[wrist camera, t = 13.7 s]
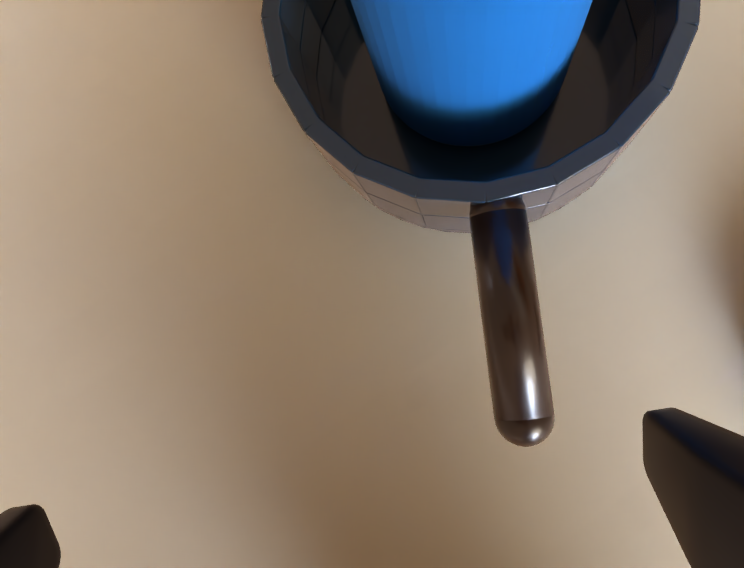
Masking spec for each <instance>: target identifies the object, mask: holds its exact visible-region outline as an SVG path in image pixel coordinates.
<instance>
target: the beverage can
mask: <svg viewBox="0 0 744 568" xmlns="http://www.w3.org/2000/svg"><path fill="white" fill-rule="evenodd" d="M351 3H352V6H353V9H354V12H355V15H356V18H357V21H358V23H359V26H360V29H361V32H362V35H363V38H364V41H365V43H366V46H367V49H368V52H369V55H370V58H371V61H372V64H373V66H374V69H375V72H376V75H377V78H378V81H379V84H380V87H381V89H382V92H383V94H384V96H385V98H386V100H387V102H388V104H389V105H390V107H391V108H392V110H393V111H394V112H395V113H396V115H397V116H398V117H399V118H400V119H401V120H402V121H403V122H404V123H405V124H406V125H408V126H409V127H410V128H412V129H413V130H415V131H416V132H418V133H419V134H421V135H423V136H425V137H427V138H429V139H431V140H434V141H437V142H440V143H444V144H449V145H455V146H480V145H485V144H491V143H495V142H498V141H501V140H504V139H506V138H509V137H511V136H513V135H515V134H517V133H519V132H520V131H522V130H523V129H525V128H527V127H528V126H530V125H531V124H532V123H533V122H534V121H536V120H537V119H538V118H539V117H540V116H541V115H542V114H543V113H544V112H545V111H546V110H547V109H548V107H549V106H550V105H551V103H552V102H553V101H554V99H555V98H556V96H557V94H558V92H559V90H560V89H561V87H562V84H563V82H564V79H565V76H566V74H567V71H568V68H569V65H570V62H571V60H572V57H573V54H574V51H575V48H576V45H577V43H578V40H579V37H580V34H581V31H582V29H583V26H584V23H585V20H586V17H587V14H588V12H589V9H590V6H591V3H592V0H351Z"/></svg>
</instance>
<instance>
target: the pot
mask: <svg viewBox="0 0 744 568" xmlns="http://www.w3.org/2000/svg"><path fill="white" fill-rule="evenodd" d="M700 2H701V0H592V3H591V6H590V9H589V12H588V14H587V17H586V20H585V23H584V26H583V29H582V31H581V34H580V37H579V40H578V43H577V45H576V48H575V51H574V54H573V57H572V60H571V62H570V65H569V68H568V71H567V74H566V76H565V79H564V82H563V84H562V87H561V89H560V90H559V92H558V94H557V96H556V98H555V99H554V101H553V102H552V103H551V105H550V106H549V107H548V109H547V110H546V111H545V112H544V113H543V114H542V115H541V116H540V117H539V118H538V119H537V120H536V121H534V122H533V123H532V124H531V125H530V126H528V127H527V128H525V129H523V130H522V131H520V132H519V133H517V134H515V135H513V136H511V137H509V138H506V139H504V140H501V141H498V142H495V143H491V144H485V145H480V146H455V145H449V144H444V143H440V142H437V141H434V140H431V139H429V138H427V137H425V136H423V135H421V134H419V133H418V132H416V131H415V130H413V129H412V128H410V127H409V126H408V125H406V124H405V123H404V122H403V121H402V120H401V119H400V118H399V117H398V116H397V115H396V113H395V112H394V111H393V110H392V108H391V107H390V105H389V104H388V102H387V100H386V98H385V96H384V94H383V92H382V89H381V87H380V84H379V81H378V78H377V75H376V72H375V69H374V66H373V64H372V61H371V58H370V55H369V52H368V49H367V46H366V43H365V41H364V38H363V35H362V32H361V29H360V26H359V23H358V21H357V18H356V15H355V12H354V9H353V6H352V3H351V0H263V5H262V13H261V18H262V19H261V22H262V27H263V32H264V37H265V42H266V47H267V52H268V57H269V62H270V67H271V72H272V77H273V78H274V82H275V83H276V85H277V87H278V89H279V90H280V92H281V94H282V95H283V97H284V99H285V101H286V102H287V104H288V106H289V107H290V109H291V111H292V113H293V114H294V116H295V118H296V119H297V121H298V123H299V124H300V126H301V128H302V130H303V131H304V132H305V134H306V135H307V136H308V137H309V139H310V140H311V141H312V143H313V144H314V145H315V146H316V148H317V149H318V150H319V152H320V153H321V154H322V155H323V157H324V158H325V159H326V160H327V162H328V163H329V164H330V166H331V167H332V168H333V169H334V171H335V172H336V173H337V174H338V175H339V176H340V177H341V178H342V179H344V180H345V181H346V182H347V183H348V184H349V185H350V186H351V187H352V188H353V189H354V190H355V191H356V192H358V193H359V194H360V195H361V196H362V197H363V198H364V199H366V200H367V201H369V202H370V203H372V204H373V205H374V206H376V207H377V208H379V209H381V210H382V211H384V212H386V213H388V214H390V215H392V216H394V217H396V218H398V219H400V220H402V221H405V222H408V223H411V224H414V225H417V226H420V227H423V228H428V229H434V230H439V231H444V232H457V233H471V229H470V221H469V213H470V208H471V207H472V206H474V205H479V204H485V203H490V202H493V201H496V200H501V199H508V198H521V199H522V200H523V202H524V204H525V206H526V210H527V217H528V223H529V222H532V221H535V220H537V219H540V218H542V217H544V216H546V215H548V214H550V213H552V212H554V211H556V210H558V209H560V208H561V207H563V206H565V205H566V204H568V203H569V202H571V201H572V200H574V199H575V198H577V197H578V196H580V195H581V194H582V193H583V192H585V191H586V190H588V189H589V188H590V187H592V186H593V185H594V184H595V183H596V181H597V180H598V179H599V178H600V177H601V176H602V175H603V174H604V173H605V171H606V170H607V169H608V168H609V167H610V166H611V165H612V164H613V162H614V161H615V160H616V159H617V158H618V157H619V156H620V155H621V153H622V152H623V151H624V150H625V149H626V148H627V147H628V145H629V144H630V143H631V142H632V140H633V139H634V138H635V137H636V135H637V134H638V133H639V132H640V130H641V129H642V128H643V127H644V125H645V124H646V123H647V122H648V120H649V119H650V118H651V117H652V115H653V114H654V113H655V112H656V110H657V109H658V108H659V106H660V105H661V104H662V103H663V101H664V100H665V99H666V98H667V96H668V95H669V94H670V92H671V90H672V88H673V86H674V84H675V81H676V79H677V77H678V74H679V72H680V70H681V67H682V65H683V63H684V60H685V58H686V56H687V53H688V51H689V49H690V46H691V44H692V42H693V39H694V37H695V35H696V32H697V30H698V25H699V18H700Z"/></svg>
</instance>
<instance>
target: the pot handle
mask: <svg viewBox="0 0 744 568" xmlns="http://www.w3.org/2000/svg"><path fill="white" fill-rule="evenodd" d="M469 221H470V229H471V237H472V245H473V253H474V261H475V269H476V277H477V285H478V293H479V301H480V309H481V317H482V325H483V333H484V341H485V349H486V357H487V365H488V373H489V381H490V389H491V397H492V405H493V413H494V420H495V425H496V427H497V429H498V431H499V432H500V434H501V435H502V436H503V437H504V438H505V439H506V440H507V441H509V442H510V443H512V444H515V445H517V446H522V447H530V446H534V445H537V444H539V443H541V442H542V441H544V440H545V439H546V438H547V437H548V436H549V434H550V433H551V431H552V429H553V426H554V408H553V401H552V393H551V386H550V379H549V371H548V364H547V356H546V349H545V342H544V334H543V327H542V320H541V312H540V305H539V298H538V290H537V283H536V276H535V268H534V261H533V253H532V246H531V239H530V231H529V224H528V217H527V210H526V206H525V204H524V202H523V200H522V199H521V198H508V199H501V200H496V201H493V202H490V203H485V204H479V205H474V206H472V207H471V208H470V213H469Z"/></svg>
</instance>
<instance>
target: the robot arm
mask: <svg viewBox="0 0 744 568" xmlns="http://www.w3.org/2000/svg"><path fill="white" fill-rule="evenodd" d="M643 462H644V467H645V471H646V474H647V476H648V478H649V481H650V483H651V485H652V487H653V489H654V491H655V493H656V495H657V497H658V499H659V501H660V504H661V506H662V508H663V510H664V512H665V514H666V516H667V518H668V520H669V522H670V524H671V527H672V529H673V531H674V533H675V535H676V537H677V539H678V541H679V543H680V545H681V547H682V550H683V552H684V554H685V556H686V558H687V560H688V562H689V564H690V566H691V568H744V436H741V435H739V434H737V433H734V432H732V431H729V430H727V429H725V428H722V427H720V426H717V425H715V424H712V423H710V422H708V421H705V420H703V419H700V418H698V417H696V416H693V415H691V414H688V413H686V412H684V411H681V410H679V409H676V408H665V409H659V410H652V411H648V412H646V413H645V414H644V417H643ZM60 558H61V551H60V546H59V543H58V541H57V539H56V536H55V534H54V532H53V529H52V527H51V525H50V522H49V520H48V518H47V515H46V513H45V511H44V509H43V508H42V507H41V506H39V505H36V504H33V505H27V506H20V507H13V508H10V509H8V510H6V511H4V512H3V513H1V514H0V568H59V564H60Z"/></svg>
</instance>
